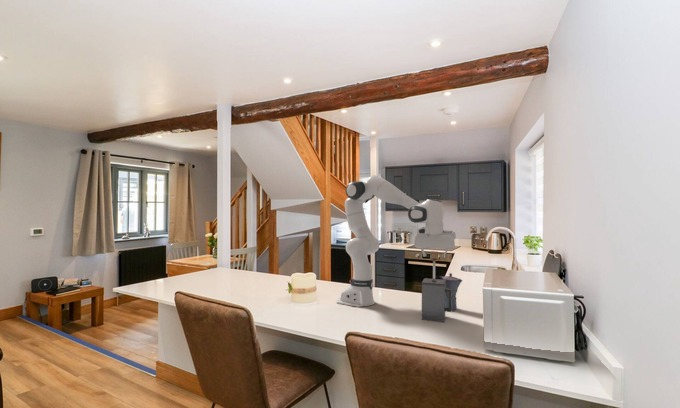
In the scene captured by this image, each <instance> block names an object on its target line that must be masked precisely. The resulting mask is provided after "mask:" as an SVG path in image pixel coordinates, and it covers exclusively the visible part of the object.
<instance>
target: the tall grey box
mask: <svg viewBox="0 0 680 408" xmlns="http://www.w3.org/2000/svg"><path fill="white" fill-rule="evenodd" d="M446 292H449V308H446ZM451 301H452V289H449V288H446V280H440V279H435V282H433V278H427V277H425V278H423V280H422V282H421V321H426V322H435V323H445V321H446V313H451V312H452V311H451Z"/></svg>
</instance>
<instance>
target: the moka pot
mask: <svg viewBox="0 0 680 408" xmlns="http://www.w3.org/2000/svg"><path fill="white" fill-rule="evenodd" d="M435 279H440V280H446V288H449V289H452V301H451V312H454V311H457V310H458V309H457V308H458V307H457V293H458V289H459V287H460V285H461V283H462V282H463V280H462V279H461V278H458V277H455V276H453V273H451V272H450V273H448V276H447V275H445V276H441V275H435ZM446 308H449V292H446Z"/></svg>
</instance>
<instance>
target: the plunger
mask: <svg viewBox="0 0 680 408" xmlns="http://www.w3.org/2000/svg"><path fill="white" fill-rule="evenodd" d="M429 256H430V257H429V259H430V261H432V279H433V282H435V277H436V261H439V252H438V251H433V250H432V251H430V254H429Z"/></svg>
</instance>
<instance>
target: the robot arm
mask: <svg viewBox="0 0 680 408" xmlns="http://www.w3.org/2000/svg"><path fill="white" fill-rule="evenodd" d="M345 194H346V196H347V198H346V199H345V201H344V210H345V211H344V212H345V216H346V221H347V225H348V228H349V230H350V232H352V233H353V234H354V236H355V237H353V238H351V239H349V240H348V241H346V244H345V252H346V253H347V254H348V255H349V257H350V259H351V262H352V269H353V272H352V273H353V276H352V278H351V279H349V283H350V284H349V285H348V286H346V287H345V288H344V289H343V290H342V291H341V292H340V297H339V298H337V299H336V304H339V305H346V306H352V307H356V308H357V307H358V308H360V307H367V306H368V307H369V306H372V305H374V304H375V303H376V302H375V298H374V293H373V288H374V279H373V265H372V264H371V263H370V261H369V258H368V256H370V255H372V254H375V253H376V252H377V251H379V249H380V241H379V239H378V238H377V237H376V236H374V233H372V231H371V229H370V227H369V225H368V222H367V219H366V214H365V210H364V206H363V205H364V204H366V203H368V202H369V201H371V200H372V199H374V198H377V199H378V200H380V201H382V202H384V203H386V204H387V203H388V204H394V205H399V206H403V208H406V209H408V212H407V216H408V219H409V221H411V222H412V223H414V224H425V226H422V227H420V228H417V229H416V234H415V236H414V239H413V242H414V243H413V246H414V247H415V248H419V249H420V251H421V253H422V256H423V257H427V253H426V252H425V251H424V250H425V249H440V250H441V249H442V250H444V253H441V258H442V259H443V258H444V259H445V258H446V254H447V253H448V250H454V249H455V247H456V245H455V243H456V242H455V240H456V232H454V231H453V230H444V221H443V219H444V205H443V202H442V201H441V200H440V199H436V198H427V199H426V200H424V201H423V202H419V201H417V200H416V199H414V198H413V197H412V196H409V195H408V194H406V193H404V191H402V190H400V189H399V188H398V187H396V186H395V185H394V184H393V183H391V182H390V181H388V180H386V179H385V178H383V177H381V176H378V175H374V174H373V175H370V176H369V177H368V178H367V180H366V181H352V182H349V183H348V184H347V185H346V188H345ZM423 257H422V258H423Z"/></svg>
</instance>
